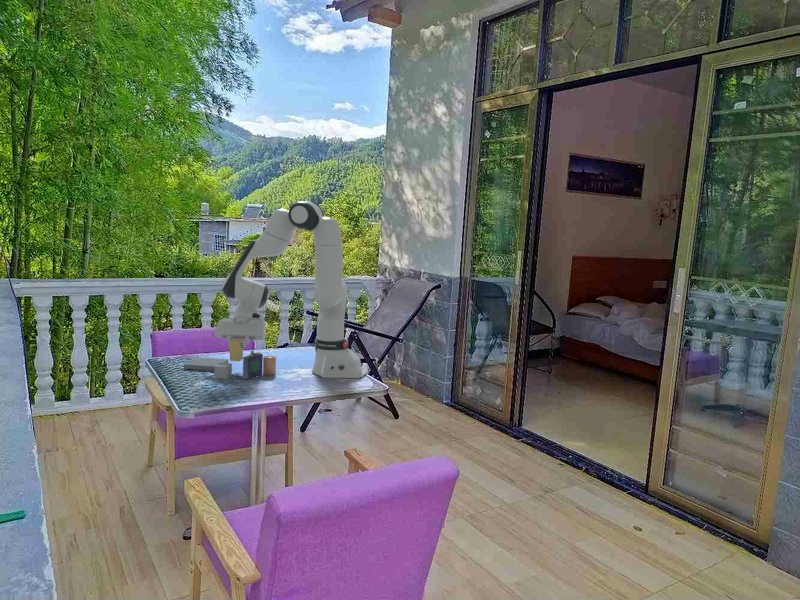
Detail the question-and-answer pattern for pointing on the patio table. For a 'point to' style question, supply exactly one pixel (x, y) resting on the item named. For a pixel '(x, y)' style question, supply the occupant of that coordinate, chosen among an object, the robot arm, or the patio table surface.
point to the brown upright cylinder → (269, 365)
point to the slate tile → (204, 363)
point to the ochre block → (236, 350)
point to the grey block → (223, 370)
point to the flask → (252, 365)
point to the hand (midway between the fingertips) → (236, 346)
